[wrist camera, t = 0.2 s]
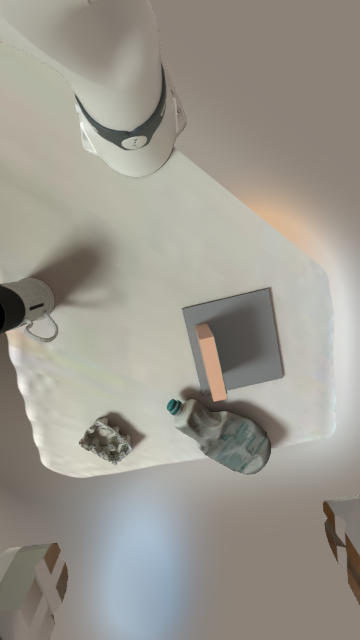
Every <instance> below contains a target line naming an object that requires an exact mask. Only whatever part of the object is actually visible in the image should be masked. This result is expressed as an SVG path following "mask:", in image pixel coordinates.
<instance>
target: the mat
mask: <svg viewBox="0 0 360 640" xmlns="http://www.w3.org/2000/svg"><path fill="white" fill-rule="evenodd" d="M182 310H183V315H184V319H185V323H186V327H187V331H188V335H189V340H190V344H191V348H192V352H193V356H194V361H195V365H196V369H197V373H198V377H199V382H200V386H201V390H202V394H203V396H205V395H210V394H211V390H210V387H209V384H208V380H207V376H206V372H205V368H204V363H203V359H202V355H201V350H200V346H199V342H198V337H197V333H196V329H195V326H196V325H200V324H204V323H207V325H208V326H209V328H210V330H211V332H212V334H213V335H214V337H215V340H216V345H217V349H218V354H219V359H220V363H221V368H222V373H223V377H224V382H225V387H226V391H227V390H232V389H236V388H240V387H245V386H249V385H254V384H258V383H262V382H267V381H271V380H275V379H280V378H283V374H282V367H281V361H280V355H279V349H278V343H277V336H276V330H275V324H274V318H273V312H272V305H271V299H270V293H269V289H268V288H267V289H263V290H259V291H255V292H250V293H246V294H242V295H238V296H234V297H229V298H225V299H221V300H217V301H213V302H208V303H204V304H200V305H196V306H191V307H187V308H183V309H182Z"/></svg>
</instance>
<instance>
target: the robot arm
mask: <svg viewBox="0 0 360 640" xmlns="http://www.w3.org/2000/svg"><path fill="white" fill-rule="evenodd" d="M0 42H1V43H4V44H6V45H9V46H11V47H13V48H15V49H17V50H19V51H21V52H23V53H25V54H27V55H29V56H31V57H33V58H35V59H37V60H38V61H40V62H42V63H44V64H45V65H47V66H49V67H50V68H52V69H53V70H55V71H56V72H58V73H59V74H60V75H61V76H63V78H64V79H65V80H66V81H67V83H68V84H69V85H70V87H71V88H72V91H73V92H74V93H75V97H76V99H77V102H76V103H75V107H76V111H77V113H78V114H79V118H80V127H81V137H82V144H83V147H84V149H85V150H86V151H87V152H89V153H91V154H93V155H95V156H98V157H100V158H101V159H103V160H104V161H105V162H106V163H107V164H108V165H109V166H110V167H111V168H112V169H114V170H115V171H117V172H119V173H121V174H123V175H126V176H131V177H141V176H146V175H149V174H151V173H153V172H155V171H156V170H158V169H159V168H160V167H161V166H162V165H163V164H164V163H165V162H166V161H167V159H168V157H169V156H170V154H171V151H172V149H173V146H174V142H175V140H176V137H178V135H179V134H180V133H181V132H182V131H183V129H184V128H185V126H186V117H185V114H184V111H183V109H182V106H181V103H180V101H179V99H178V96H177V93H176V91H175V88H174V86H173V83H172V80H171V78H170V75H169V73H168V70H167V68H166V65H165V63H164V60H163V57H162V55H161V52H160V39H159V29H158V24H157V20H156V17H155V14H154V11H153V8H152V6H151V4H150V2H149V0H0ZM177 112H178V113H179V115H178V116H177ZM323 511H324V513H325V515H326V517H327V520H326V521H325V523H324V524H325V532H326V536H327V539H328V542H329V545H330V548H331V550H332V552H333V554H334V556H335V558H336V560H337V562H338V564H339V565H340V566H342V567H343V568H344V569H345V570H347V574H348V584H349V585H350V588H351V590H352V592H353V593H354V595H355V597H356V599H357V601H358V603H359V605H360V495H358V496H357V495H355V496H348V497H343V498H337V499H331V500H325V501H324V502H323ZM60 551H61V550H60V548H59V546H58V544H57V543H50V544H41V545H32V546H24V547H17V548H9V549H7V550H5V552H3V554H1V556H0V640H50V637H51V634H52V631H53V628H54V625H55V621H54V615H53V614H54V612H55V611H56V610H57V609H58V608H59V606H60V605H61V604H62V602H63V599H64V596H65V593H66V588H67V581H68V570H67V566H66V563H65V561H63V560H62V559H61V558H59V557H58V556H59V554H60Z"/></svg>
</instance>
